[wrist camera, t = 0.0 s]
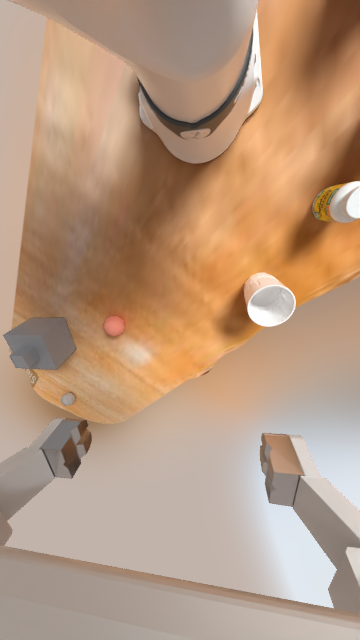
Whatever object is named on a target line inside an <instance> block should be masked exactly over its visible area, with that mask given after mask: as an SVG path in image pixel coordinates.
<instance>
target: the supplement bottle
mask: <svg viewBox="0 0 360 640" xmlns="http://www.w3.org/2000/svg"><path fill="white" fill-rule="evenodd" d="M312 210H313V213H314V215H315V217H316V218H317V219H318V220H321V221H328V222H338V223H348V222H352V221H355V220H357V219H358V218H360V181H355V182H349V183H344V184H339V185H334V186H330V187H327V188H325V189H324V190H322V191H321V192H320V193H319V194H318V195H317V196H316V198H315V200H314V202H313V207H312Z"/></svg>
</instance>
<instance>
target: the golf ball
mask: <svg viewBox="0 0 360 640" xmlns="http://www.w3.org/2000/svg"><path fill="white" fill-rule="evenodd" d="M61 401H62V404H63V405H66V406H69V405H71V404H73V402H74V401H75V395H74V394H72V393H66V394H64V395H63V397H62V400H61Z"/></svg>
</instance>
